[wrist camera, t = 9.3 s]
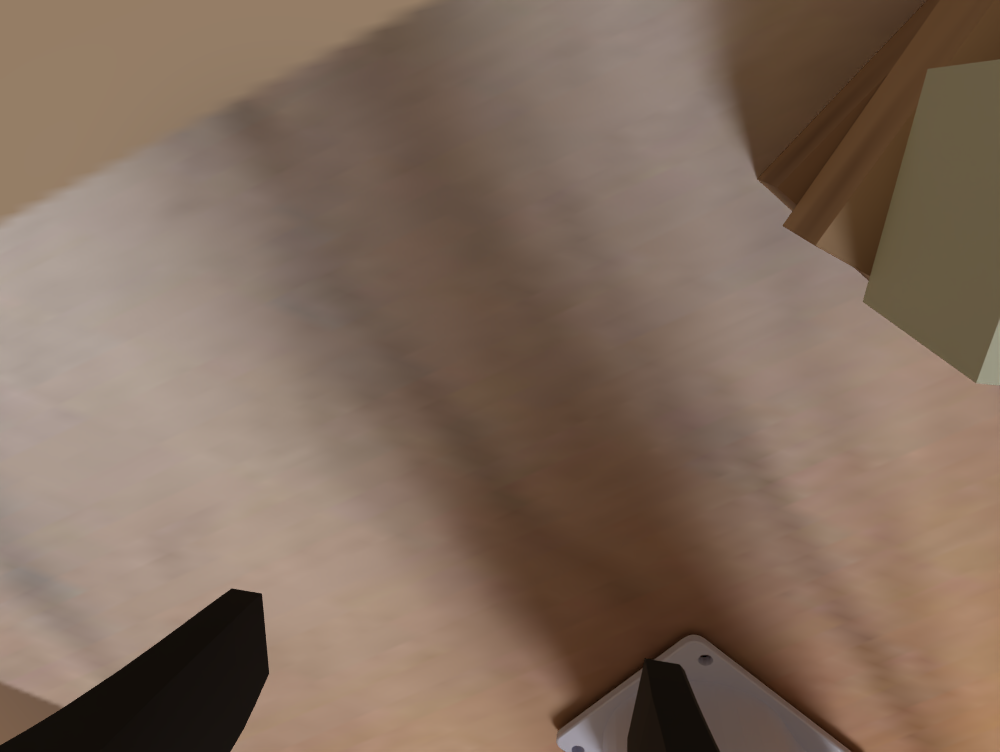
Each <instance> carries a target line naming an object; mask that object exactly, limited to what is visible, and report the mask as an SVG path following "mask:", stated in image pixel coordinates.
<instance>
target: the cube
mask: <svg viewBox="0 0 1000 752" xmlns="http://www.w3.org/2000/svg"><path fill="white" fill-rule="evenodd" d="M863 302H864V303H865V304H867V305H868V306H870V307H871V308H872V309H874V310H875V311H876V312H878V313H879V314H881V315H882V316H883V317H885V318H886V319H888V320H889V321H890V322H892V323H893V324H895V325H896V326H897V327H899V328H900V329H901V330H903V331H904V332H906V333H907V334H908V335H910V336H911V337H913V338H914V339H915V340H917V341H918V342H920V343H921V344H922V345H924V346H925V347H926V348H928V349H929V350H931V351H932V352H933V353H935V354H936V355H938V356H939V357H940V358H942V359H943V360H945V361H946V362H947V363H949V364H950V365H951V366H953V367H954V368H956V369H957V370H958V371H960V372H961V373H963V374H964V375H965V376H967V377H968V378H970V379H971V380H972V381H974V382H975V383H979V384H989V385H1000V59H998V60H991V61H983V62H976V63H968V64H961V65H953V66H946V67H938V68H931V69H928V70H927V73H926V77H925V80H924V84H923V88H922V91H921V95H920V98H919V102H918V106H917V109H916V113H915V116H914V120H913V124H912V127H911V131H910V134H909V138H908V141H907V145H906V149H905V152H904V156H903V159H902V163H901V167H900V170H899V174H898V177H897V181H896V185H895V188H894V192H893V195H892V199H891V203H890V206H889V210H888V213H887V217H886V221H885V224H884V228H883V231H882V235H881V239H880V242H879V246H878V249H877V253H876V257H875V260H874V264H873V267H872V271H871V275H870V278H869V282H868V285H867V289H866V292H865V296H864V300H863Z"/></svg>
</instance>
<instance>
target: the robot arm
mask: <svg viewBox="0 0 1000 752" xmlns="http://www.w3.org/2000/svg"><path fill="white" fill-rule="evenodd" d="M702 655H709V656H708V657H700V656H702ZM268 674H269V667H268V656H267V645H266V634H265V623H264V612H263V601H262V594H261V593H255V592H249V591H243V590H237V589H230V590H229V591H228V592H226V593H225V594H224V595H222V596H221V597H219V598H218V599H217V600H215V601H214V602H212V603H211V604H210V605H208V606H207V607H206V608H204V609H203V610H202V611H200V612H199V613H198V614H196V615H195V616H193V617H192V618H191V619H189V620H188V621H187V622H185V623H184V624H183V625H181V626H180V627H179V628H177V629H176V630H175V631H173V632H172V633H171V634H169V635H168V636H166V637H165V638H164V639H162V640H161V641H160V642H158V643H157V644H156V645H154V646H153V647H151V648H150V649H149V650H147V651H146V652H144V653H143V654H142V655H140V656H139V657H137V658H136V659H135V660H133V661H132V662H130V663H129V664H128V665H126V666H125V667H123V668H122V669H121V670H119V671H118V672H116V673H115V674H113V675H112V676H110V677H109V678H107V679H106V680H104V681H103V682H101V683H100V684H98V685H97V686H95V687H94V688H92V689H91V690H89V691H88V692H86V693H85V694H83V695H82V696H80V697H79V698H77V699H76V700H74V701H73V702H71V703H70V704H68V705H67V706H65V707H64V708H62V709H60V710H59V711H57V712H56V713H54V714H53V715H51V716H49V717H48V718H46V719H45V720H43V721H41V722H39V723H38V724H36V725H34V726H33V727H31V728H29V729H28V730H26V731H24V732H23V733H21V734H19V735H17V736H16V737H14V738H12V739H10V740H9V741H7V742H5V743H4V744H2V745H0V752H230V751H231V750H232V748H233V746H234V745H235V743H236V741H237V739H238V738H239V736H240V734H241V733H242V731H243V729H244V727H245V725H246V723H247V721H248V719H249V717H250V715H251V712H252V710H253V708H254V706H255V704H256V702H257V699H258V697H259V695H260V693H261V690H262V688H263V686H264V684H265V681H266V679H267V677H268ZM556 742H557V745H558V746H559V747H560V748H561V749H562V750H564V751H565V752H851V751H850V750H849V749H847V748H846V747H845V746H844V745H842V744H841V743H840V742H838V741H837V740H836V739H835V738H833V737H832V736H831V735H829V734H828V733H827V732H825V731H824V730H823V729H822V728H820V727H819V726H818V725H816V724H815V723H814V722H812V721H811V720H810V719H809V718H807V717H806V716H805V715H803V714H802V713H801V712H799V711H798V710H797V709H796V708H794V707H793V706H792V705H790V704H789V703H788V702H786V701H785V700H784V699H783V698H781V697H780V696H779V695H777V694H776V693H775V692H774V691H772V690H771V689H770V688H768V687H767V686H766V685H764V684H763V683H762V682H761V681H759V680H758V679H757V678H755V677H754V676H753V675H751V674H750V673H749V672H748V671H746V670H745V669H744V668H742V667H741V666H740V665H738V664H737V663H736V662H735V661H733V660H732V659H731V658H729V657H728V656H727V655H725V654H724V653H723V652H722V651H720V650H719V649H718V648H716V647H715V646H714V645H713V644H711V643H710V642H709V641H707V640H706V639H705V638H703V637H701V636H699V635H688V636H686V637H684V638H683V639H681V640H680V641H679V642H677V643H676V644H675V645H673V646H672V647H670V648H669V649H668V650H666V651H665V652H664V653H662V654H661V655H660V656H658V657H657V658H656V659H654V660H651V659H646V658H645V660H644V665H643V668H642V669H641V670H639V671H638V672H637V673H635V674H634V675H633V676H631V677H630V678H629V679H627V680H626V681H624V682H623V683H622V684H620V685H619V686H618V687H616V688H615V689H614V690H612V691H611V692H610V693H608V694H607V695H605V696H604V697H603V698H601V699H600V700H599V701H597V702H596V703H595V704H593V705H592V706H591V707H589V708H588V709H587V710H585V711H584V712H582V713H581V714H580V715H578V716H577V717H576V718H574V719H573V720H572V721H570V722H569V723H568V724H566V725H565V726H563V727H562V728H561V729H560V730H559V731H558V732H557V740H556Z"/></svg>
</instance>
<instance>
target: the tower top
mask: <svg viewBox="0 0 1000 752" xmlns="http://www.w3.org/2000/svg"><path fill="white" fill-rule="evenodd" d="M998 59H1000V0H940V1H939V2H938V4H937V5H936V6H935V8H934V9H933V11H932V12H931V14H930V15H929V16H928V18H927V19H926V21H925V22H924V24H923V25H922V26H921V28H920V29H919V31H918V32H917V34H916V35H915V37H914V38H913V39H912V41H911V42H910V44H909V45H908V47H907V48H906V49H905V51H904V52H903V54H902V55H901V57H900V58H899V59H898V61H897V62H896V64H895V65H894V67H893V68H892V69H891V71H890V72H889V74H888V75H887V77H886V78H885V80H884V81H883V82H882V84H881V85H880V87H879V88H878V90H877V91H876V92H875V94H874V95H873V97H872V98H871V100H870V101H869V102H868V104H867V105H866V107H865V108H864V110H863V111H862V113H861V114H860V115H859V117H858V118H857V120H856V121H855V123H854V124H853V125H852V127H851V128H850V130H849V131H848V133H847V134H846V135H845V137H844V138H843V140H842V141H841V143H840V144H839V145H838V147H837V148H836V150H835V151H834V153H833V154H832V156H831V157H830V158H829V160H828V161H827V163H826V164H825V166H824V167H823V168H822V170H821V171H820V173H819V174H818V176H817V177H816V178H815V180H814V181H813V183H812V184H811V186H810V187H809V189H808V190H807V191H806V193H805V194H804V196H803V197H802V199H801V200H800V201H799V203H798V204H797V206H796V207H795V209H794V210H793V211H792V213H791V214H790V216H789V217H788V219H787V220H786V221H785V223H784V224H783V226H784V227H785V228H787V229H789V230H790V231H792V232H794V233H795V234H797V235H799V236H800V237H802V238H803V239H805V240H807V241H808V242H810V243H812V244H813V245H815V246H817V247H818V248H820V249H822V250H824V251H826V252H827V253H829V254H831V255H833V256H834V257H836V258H838V259H840V260H842V261H843V262H845V263H847V264H849V265H851V266H852V267H854V268H856V269H858V270H860V271H861V272H863V273H865V274H867V275H869V276H870V275H871V271H872V267H873V264H874V260H875V257H876V253H877V249H878V246H879V242H880V239H881V235H882V231H883V228H884V224H885V221H886V217H887V213H888V210H889V206H890V203H891V199H892V195H893V192H894V188H895V185H896V181H897V177H898V174H899V170H900V167H901V163H902V159H903V156H904V152H905V149H906V145H907V141H908V138H909V134H910V131H911V127H912V124H913V120H914V116H915V113H916V109H917V106H918V102H919V98H920V95H921V91H922V88H923V84H924V80H925V77H926V73H927V70H928V69H931V68H938V67H946V66H953V65H961V64H968V63H976V62H983V61H991V60H998Z"/></svg>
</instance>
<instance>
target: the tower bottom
mask: <svg viewBox="0 0 1000 752" xmlns="http://www.w3.org/2000/svg"><path fill="white" fill-rule="evenodd" d="M939 1H940V0H927V1H926V2H925V3H924V4H923V5H922V6H921V7H920V8H919V9H918V11H917V12H916V13H915V14H914V15H913V16H912V17H911V18H910V19H909V20H908V21H907V22H906V23H905V24H904V25H903V26H902V27H901V28H900V29H899V31H898V32H897V33H896V34H895V35H894V36H893V37H892V38H891V39H890V40H889V41H888V42H887V43H886V44H885V45H884V46H883V47H882V48H881V49H880V50H879V52H878V53H877V54H876V55H875V56H874V57H873V58H872V59H871V60H870V61H869V62H868V63H867V64H866V65H865V66H864V67H863V68H862V69H861V70H860V71H859V73H858V74H857V75H856V76H855V77H854V78H853V79H852V80H851V81H850V82H849V83H848V84H847V85H846V86H845V87H844V88H843V89H842V90H841V91H840V92H839V94H838V95H837V96H836V97H835V98H834V99H833V100H832V101H831V102H830V103H829V104H828V105H827V106H826V107H825V108H824V109H823V110H822V111H821V112H820V114H819V115H818V116H817V117H816V118H815V119H814V120H813V121H812V122H811V123H810V124H809V125H808V126H807V127H806V128H805V129H804V130H803V131H802V132H801V133H800V135H799V136H798V137H797V138H796V139H795V140H794V141H793V142H792V143H791V144H790V145H789V146H788V147H787V148H786V149H785V150H784V151H783V152H782V153H781V154H780V156H779V157H778V158H777V159H776V160H775V161H774V162H773V163H772V164H771V165H770V166H769V167H768V168H767V169H766V170H765V171H764V172H763V173H762V174H761V175H760V177H759V178H758V180H759V181H760V182H761V183H762V184H763V185H764V186H765V187H766V188H768V189H769V190H770V191H771V192H772V193H773V194H774V195H775V196H776V197H777V198H779V199H780V200H781V201H782V202H783V203H784V204H785V205H786V206H787V207H788V208H790V209H791V210H792V211H793V210H794V209H795V207H796V206H797V204H798V203H799V201H800V200H801V199H802V197H803V196H804V194H805V193H806V191H807V190H808V189H809V187H810V186H811V184H812V183H813V181H814V180H815V178H816V177H817V176H818V174H819V173H820V171H821V170H822V168H823V167H824V166H825V164H826V163H827V161H828V160H829V158H830V157H831V156H832V154H833V153H834V151H835V150H836V148H837V147H838V145H839V144H840V143H841V141H842V140H843V138H844V137H845V135H846V134H847V133H848V131H849V130H850V128H851V127H852V125H853V124H854V123H855V121H856V120H857V118H858V117H859V115H860V114H861V113H862V111H863V110H864V108H865V107H866V105H867V104H868V102H869V101H870V100H871V98H872V97H873V95H874V94H875V92H876V91H877V90H878V88H879V87H880V85H881V84H882V82H883V81H884V80H885V78H886V77H887V75H888V74H889V72H890V71H891V69H892V68H893V67H894V65H895V64H896V62H897V61H898V59H899V58H900V57H901V55H902V54H903V52H904V51H905V49H906V48H907V47H908V45H909V44H910V42H911V41H912V39H913V38H914V37H915V35H916V34H917V32H918V31H919V29H920V28H921V26H922V25H923V24H924V22H925V21H926V19H927V18H928V16H929V15H930V14H931V12H932V11H933V9H934V8H935V6H936V5H937V4H938V2H939ZM855 269H856V268H855ZM856 270H857V271H859V272H860V273H861V274H862V275H863V276H864V277H865V278H866V279H867V280H868V281H869V278H870V276H869V275H867V274H865V273H863V272H861V271H860V270H858V269H856Z"/></svg>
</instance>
